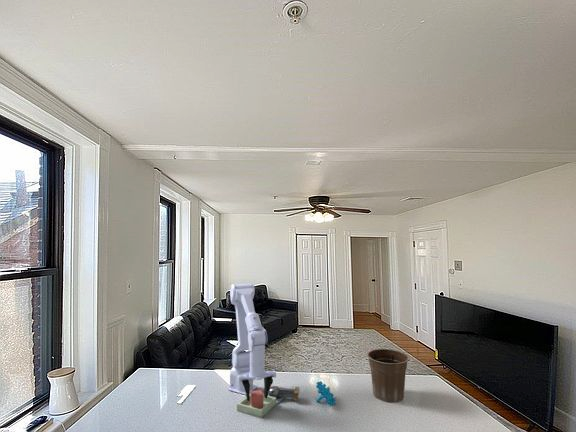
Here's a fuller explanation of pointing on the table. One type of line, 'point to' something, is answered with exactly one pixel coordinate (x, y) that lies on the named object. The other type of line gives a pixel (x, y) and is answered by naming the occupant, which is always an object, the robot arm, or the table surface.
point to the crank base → (277, 400)
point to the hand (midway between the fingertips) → (256, 398)
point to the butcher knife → (186, 392)
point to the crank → (284, 392)
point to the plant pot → (388, 374)
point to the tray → (246, 408)
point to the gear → (325, 393)
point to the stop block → (257, 399)
